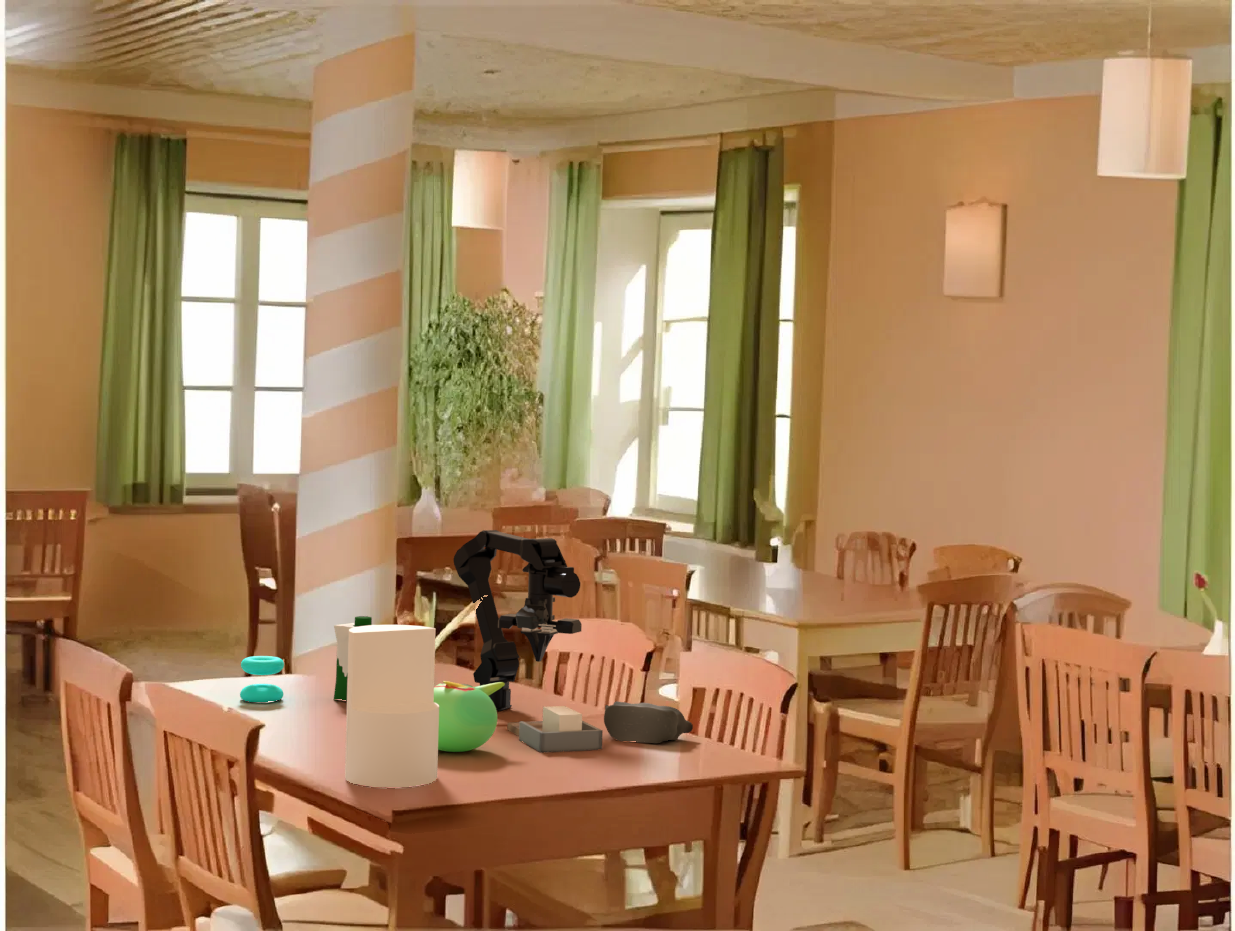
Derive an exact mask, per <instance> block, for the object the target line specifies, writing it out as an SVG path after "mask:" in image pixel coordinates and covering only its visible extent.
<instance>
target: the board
mask: <svg viewBox="0 0 1235 931" xmlns="http://www.w3.org/2000/svg"><path fill="white" fill-rule="evenodd" d="M524 722H525V723H527V724H529V725H531V726H533V727H534V728H536V729H538V730H540V731H542V727H543V720H536V721H535V720H534V721H524ZM519 723H520V721H516V722H513V721H512V722H507V726H506V727H507V728H506V730H507V731H508V730H509V732H510V733H511V734H514V735H515V736H517V735H519Z"/></svg>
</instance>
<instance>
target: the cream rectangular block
mask: <svg viewBox="0 0 1235 931" xmlns="http://www.w3.org/2000/svg"><path fill="white" fill-rule="evenodd" d="M542 708H543V709H542V721H543V727H542V732H560V731H582V721H583V713H581V712H579V711H576V710H575V709H572V708H570V707H568V706H566V705H553V706H542Z"/></svg>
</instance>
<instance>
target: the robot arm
mask: <svg viewBox="0 0 1235 931" xmlns="http://www.w3.org/2000/svg"><path fill="white" fill-rule="evenodd" d="M498 550H499V551H503V552H505V553H510V554H513V555H517V556H519V557H520V558H521V560H523V561H524V562H526V563H528V564H527V565H525V566H524V567H523V568H522V569H521V570H522V572H523V573H528V581H527V582H528V584H527V585H528V587H527V597H526V598H525V600H524V605H523V607H521V608H520V609H519V610H518V611H517V612H516V613H506V614H502V615H500V616H499V615H498V611H497V610H498V609H497V607H496V604H495V599H494V597H493V593H492V589H491V586H490V582H489V580H490V576H491V573H492V572H491V571H492V564H491V562H492V561H493V560H494V558H495V557H496V556H497V551H498ZM453 565H454V567H455V571H456V573H457V575H458V578H460V579H461V580H462V581H463V582H464V583H465V585H466V586H467V587H468V591H469V594H470V599H471V601H472V604H473V603H475V602H476V601H477V600H479V599H480V601H482V602H481V603H480V604H479V606H478V608H477V609H476V613H475V616H476V620H477V624H478V627H479V628H478V629H479V632H480V635H481V638H482V642H483V644H482V648H481V652H480V661H481V663H480V664H479V666H477V668H476V669H475V670H474V672H473V673H472V675H473V680H474V681H473V682H474V683H478V684H479V686H482V685H486V684H491V683H497V682H503V683H505V685H504V686H503V687H502V688H500V689H499V690H497V691H495V692H494V693H492V694H490V695H489V697H490V699H491V700H492V701H493V703H494V705H495V707H496V711H498V712H501V711H504V710H506V709H510V708H512V704H511V697H512V696H511V692H512V691H511V690H512V689H511V688H510V682H515V680H516V676H517V673H518V670H519V667H520V654H519V653H518V650H517V645H516V643H515V641H508V640H507V639H506V638H505V636H504V632H503V629H511V628H512V627H514V626H515V627H517V628H518V629H521V630H520V633H521V634H523V635H524V636H525V637H526V638H527V639H528V642H529V644H530V647H531V650H532V653H533V655H534V659H535V662H538V663H540V662H542V660H543V657H544V656H545V653H546V650H547V649H548V646H549V644H550V642H552V641H551V640H552V639H553V637H554V636H555V635H557V634H568V635H573V634H577V633H581V632H582V622H581V620H580V619H578V618H562V619H561V618H560V619H558V620H555V619H556V618H555V615H554V614H553V612H554V610H553V609H554V603H555V602H556V596H557V597H561V598H562V597H564V598H574V597H575V596H577V595H578V593H579V591H580V589H581V580H580V578H579V576H578V574H577V573H575V567H574V566H568V564H567V562H566V559H565V558H564V556H563V554H562V551H561V550H560V547H559V545H558V542H557V540H556V539H555V538H552V537H550V538H549V537H548V538H547V537H546V538H545V537H543V538H526V537H522V536H519V535H515V534H511V533H507V532H502V531H499V530H497V529H487V530H486V529H485V530H484V529H483V530H481V531H479V532H478V534H476V535H475V537H473V538H471V539H470V540H469V541H467V542H465V543H463V545H462V546H461V547H460V548H459V549H458V550H456V552H455V554H454V555H453ZM484 595H488V596H487V597H483V596H484ZM554 596H555V597H554ZM481 597H482V598H483V600H482V599H481Z"/></svg>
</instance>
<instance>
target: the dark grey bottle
mask: <svg viewBox="0 0 1235 931" xmlns="http://www.w3.org/2000/svg"><path fill="white" fill-rule="evenodd" d="M603 723H604V726H605V728H606V730H607V731H606V732H608V735H610V736H611V737H612V738H613V739H614V740H616V741H618V740H619V742H623V741H636V742H637V743H645V744H660V743H662V742H669V741H668V740H675V741H677V740H678V739H679V737H680V736H681V735H683V734H688V733H690V732H692V730H693V728H694V725H693V723H692V722H690V721H689V720H687V719H686V718H685V716H684V714H683V713H682V711H681V710H679V709H678V708H675V707H672V706H668V705H657V704H653V703H650V702H639V703H630V702H625V701H624V702H623V701H618V700H616V701H614V702H613V704H611V705H608V704H606V705H605V706H604V714H603Z"/></svg>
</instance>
